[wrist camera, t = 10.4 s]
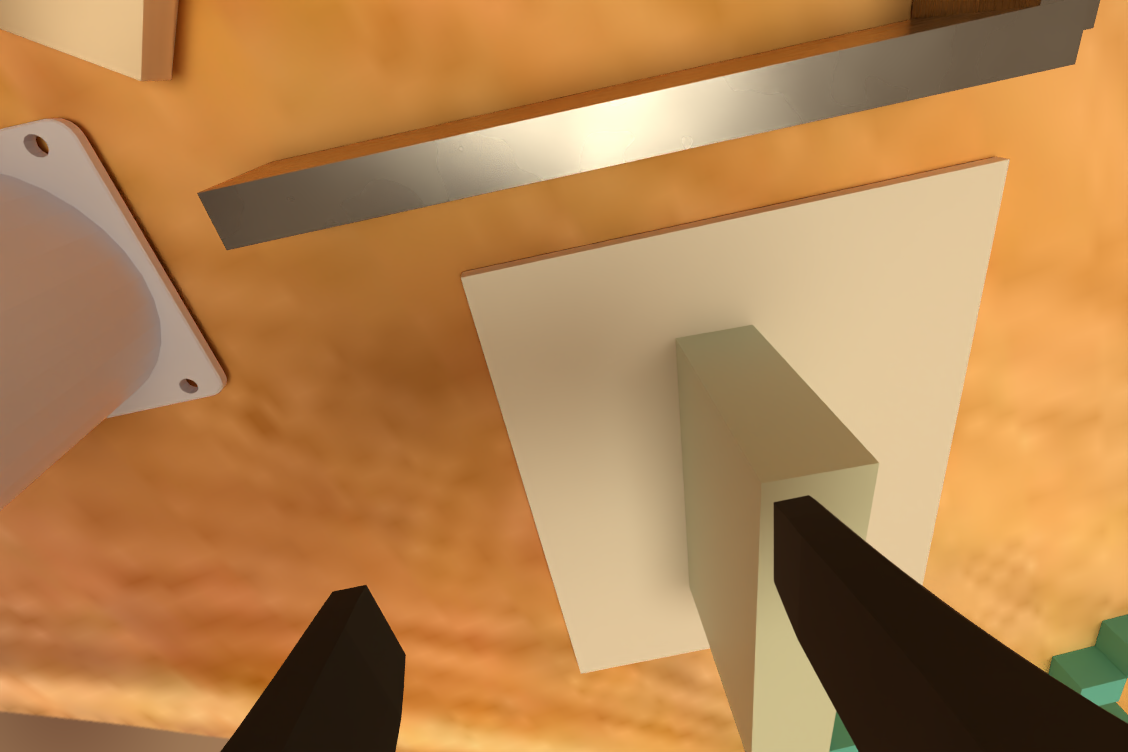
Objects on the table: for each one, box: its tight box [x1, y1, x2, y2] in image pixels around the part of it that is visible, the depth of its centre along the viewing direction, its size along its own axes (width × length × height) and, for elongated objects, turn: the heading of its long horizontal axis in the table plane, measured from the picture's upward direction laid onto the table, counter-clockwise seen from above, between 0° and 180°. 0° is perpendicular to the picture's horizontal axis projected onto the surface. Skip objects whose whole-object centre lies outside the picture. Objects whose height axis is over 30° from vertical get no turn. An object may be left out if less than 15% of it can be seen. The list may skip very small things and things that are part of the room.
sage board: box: [675, 325, 879, 752], centre depth 18 cm, size 2×12×7 cm, turn 9°
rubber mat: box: [461, 157, 1010, 674], centre depth 21 cm, size 16×20×1 cm
